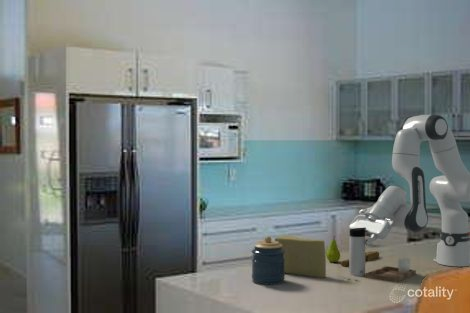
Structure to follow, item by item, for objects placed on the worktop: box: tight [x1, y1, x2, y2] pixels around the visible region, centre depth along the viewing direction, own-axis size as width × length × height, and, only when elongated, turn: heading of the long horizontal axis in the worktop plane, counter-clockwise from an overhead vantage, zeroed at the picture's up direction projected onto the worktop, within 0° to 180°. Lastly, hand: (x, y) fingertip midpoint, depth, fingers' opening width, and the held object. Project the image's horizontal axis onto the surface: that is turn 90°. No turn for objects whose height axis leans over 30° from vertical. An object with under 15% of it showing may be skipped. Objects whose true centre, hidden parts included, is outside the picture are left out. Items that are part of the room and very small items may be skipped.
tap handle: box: [340, 250, 380, 268], centre depth 275 cm, size 3×3×30 cm
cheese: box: [274, 234, 327, 279], centre depth 250 cm, size 22×10×15 cm, turn 49°
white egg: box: [397, 257, 411, 275], centre depth 244 cm, size 4×4×6 cm
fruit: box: [325, 235, 341, 263], centre depth 274 cm, size 6×6×12 cm
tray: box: [364, 265, 417, 283], centre depth 242 cm, size 18×13×3 cm
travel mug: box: [348, 228, 366, 277], centre depth 244 cm, size 6×7×20 cm
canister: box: [251, 235, 286, 285], centre depth 238 cm, size 13×13×18 cm
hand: (358, 242), depth 244 cm, fingers open, 8 cm apart
